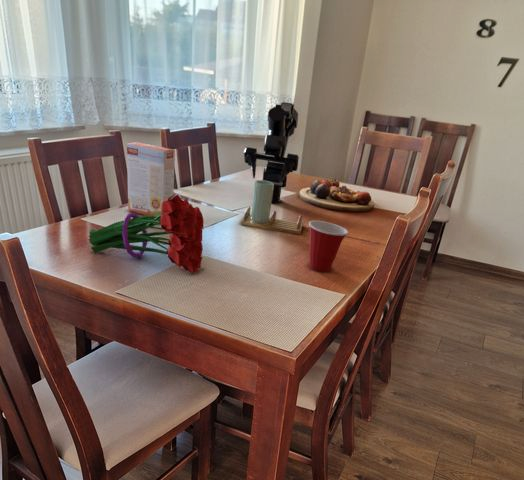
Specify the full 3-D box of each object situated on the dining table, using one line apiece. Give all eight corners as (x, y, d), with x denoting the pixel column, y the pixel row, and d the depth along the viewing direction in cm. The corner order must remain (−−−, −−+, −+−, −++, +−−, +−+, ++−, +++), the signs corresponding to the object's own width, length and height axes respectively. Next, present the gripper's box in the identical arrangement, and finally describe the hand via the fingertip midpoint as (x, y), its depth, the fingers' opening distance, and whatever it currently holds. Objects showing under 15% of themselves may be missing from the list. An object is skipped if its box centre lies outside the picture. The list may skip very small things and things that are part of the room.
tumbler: (252, 216, 166) (257, 179, 159) (270, 219, 165) (275, 182, 159) (249, 221, 160) (253, 182, 154) (267, 224, 160) (272, 185, 153)
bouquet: (111, 262, 135) (213, 260, 128) (80, 283, 120) (193, 282, 114) (93, 190, 125) (201, 183, 119) (57, 204, 111) (178, 197, 105)
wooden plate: (389, 211, 201) (394, 191, 197) (333, 215, 184) (337, 193, 180) (338, 190, 223) (342, 172, 219) (284, 192, 206) (287, 173, 201)
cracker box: (174, 217, 157) (176, 149, 146) (163, 220, 152) (164, 151, 142) (138, 207, 161) (138, 141, 151) (127, 210, 156) (126, 142, 146)
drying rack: (246, 216, 168) (247, 205, 166) (302, 226, 167) (304, 214, 164) (241, 224, 159) (242, 212, 157) (300, 234, 158) (302, 222, 156)
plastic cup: (346, 275, 131) (355, 233, 125) (309, 275, 128) (318, 231, 122) (330, 260, 140) (338, 220, 134) (296, 260, 136) (303, 218, 130)
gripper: (248, 121, 160) (238, 160, 156) (303, 129, 159) (294, 169, 155) (249, 143, 171) (240, 181, 167) (300, 151, 170) (293, 189, 166)
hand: (266, 180), depth 164 cm, fingers open, 9 cm apart
